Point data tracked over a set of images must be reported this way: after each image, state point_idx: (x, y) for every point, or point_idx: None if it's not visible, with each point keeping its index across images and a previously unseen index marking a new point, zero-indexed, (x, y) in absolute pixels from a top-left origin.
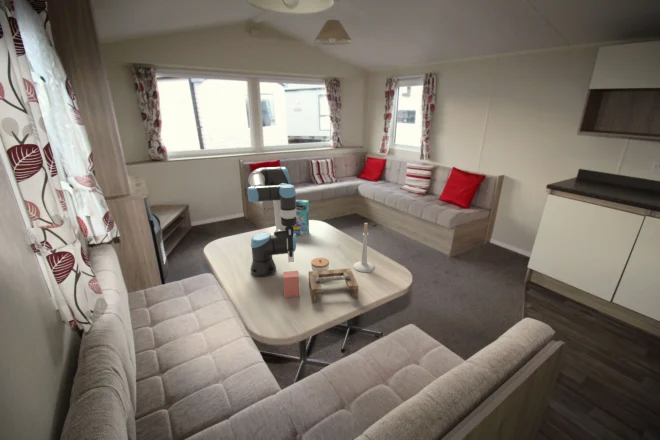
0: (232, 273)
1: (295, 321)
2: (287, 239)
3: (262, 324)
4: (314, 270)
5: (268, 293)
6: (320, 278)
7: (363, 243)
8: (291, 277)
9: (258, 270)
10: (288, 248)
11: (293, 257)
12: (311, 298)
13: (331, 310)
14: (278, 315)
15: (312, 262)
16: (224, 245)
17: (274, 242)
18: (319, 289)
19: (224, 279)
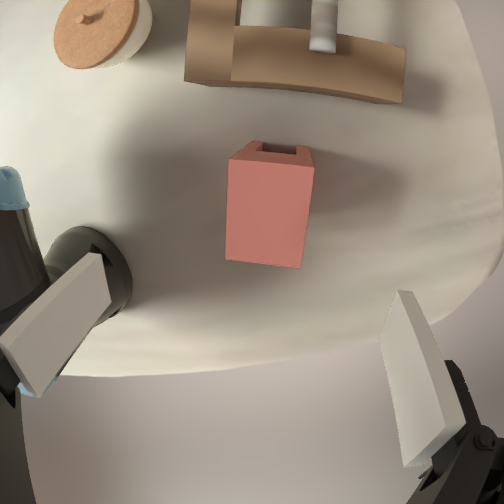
0: (116, 353)
1: (459, 204)
2: (38, 387)
3: (424, 305)
4: (131, 52)
5: (251, 273)
6: (329, 23)
7: None
8: (307, 217)
9: (116, 306)
10: (492, 498)
11: (428, 332)
12: (345, 97)
13: (442, 50)
14: (407, 255)
15: (87, 60)
16: None
17: (2, 307)
18: (404, 62)
19: (148, 373)
